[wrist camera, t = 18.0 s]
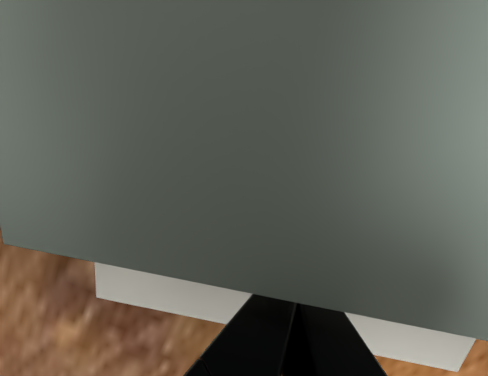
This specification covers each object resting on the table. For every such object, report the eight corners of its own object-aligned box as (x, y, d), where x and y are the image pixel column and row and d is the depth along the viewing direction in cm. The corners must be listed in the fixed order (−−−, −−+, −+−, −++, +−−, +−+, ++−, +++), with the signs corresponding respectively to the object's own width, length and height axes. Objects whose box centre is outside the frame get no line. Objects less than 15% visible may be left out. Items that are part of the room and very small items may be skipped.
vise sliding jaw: (515, 228, 10) (631, 369, 6) (106, 153, 10) (3, 244, 7) (761, -234, 6) (1403, -532, 2) (93, -306, 7) (-152, -621, 3)
